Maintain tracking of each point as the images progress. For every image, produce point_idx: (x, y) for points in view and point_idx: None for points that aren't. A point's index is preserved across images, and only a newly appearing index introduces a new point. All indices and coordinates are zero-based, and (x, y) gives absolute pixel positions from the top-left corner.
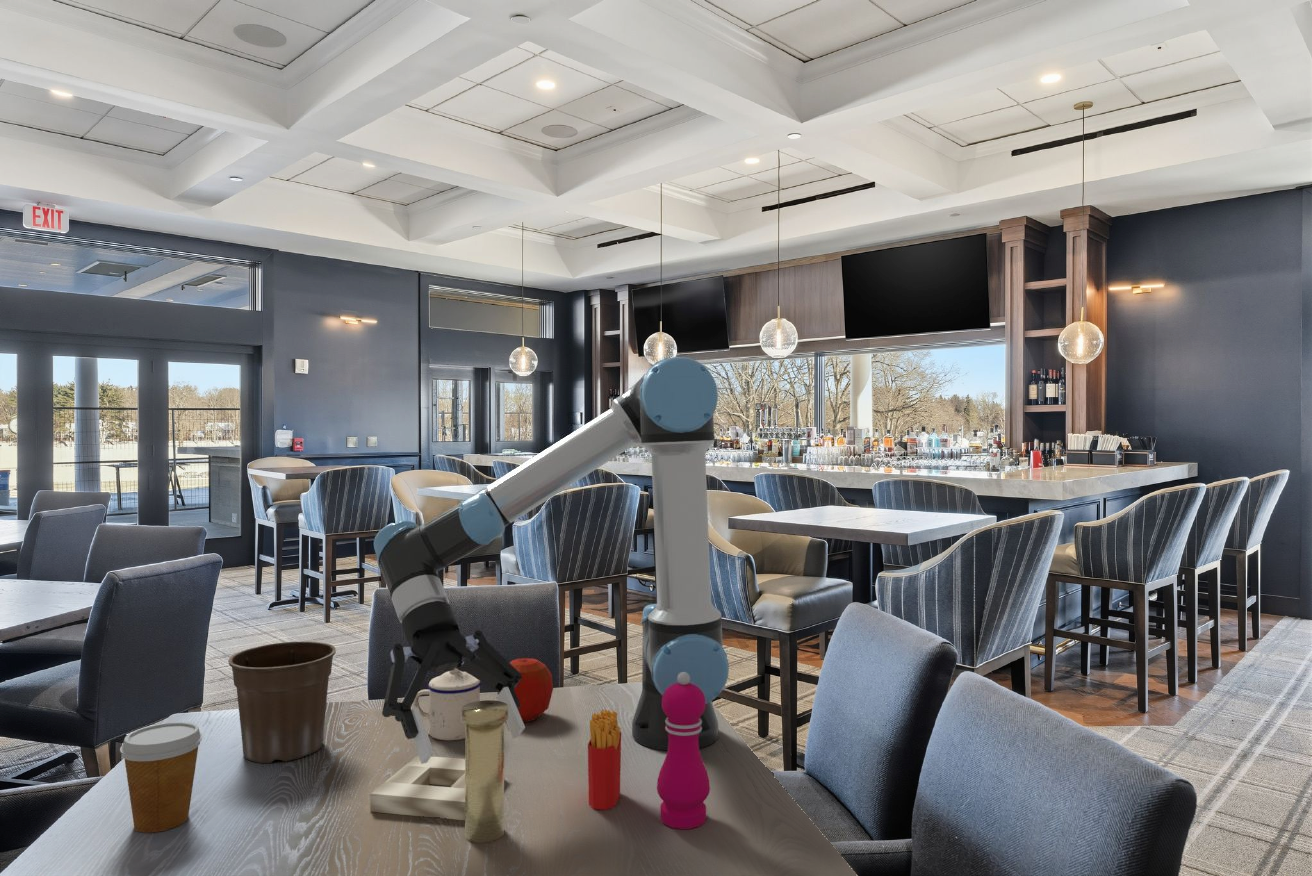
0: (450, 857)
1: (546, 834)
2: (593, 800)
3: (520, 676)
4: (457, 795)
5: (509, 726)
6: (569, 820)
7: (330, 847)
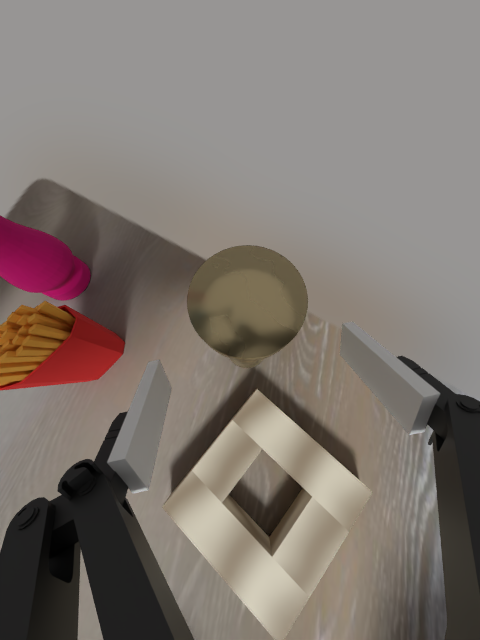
0: None
1: None
2: (119, 339)
3: (22, 514)
4: (260, 414)
5: (165, 404)
6: (159, 331)
7: None
